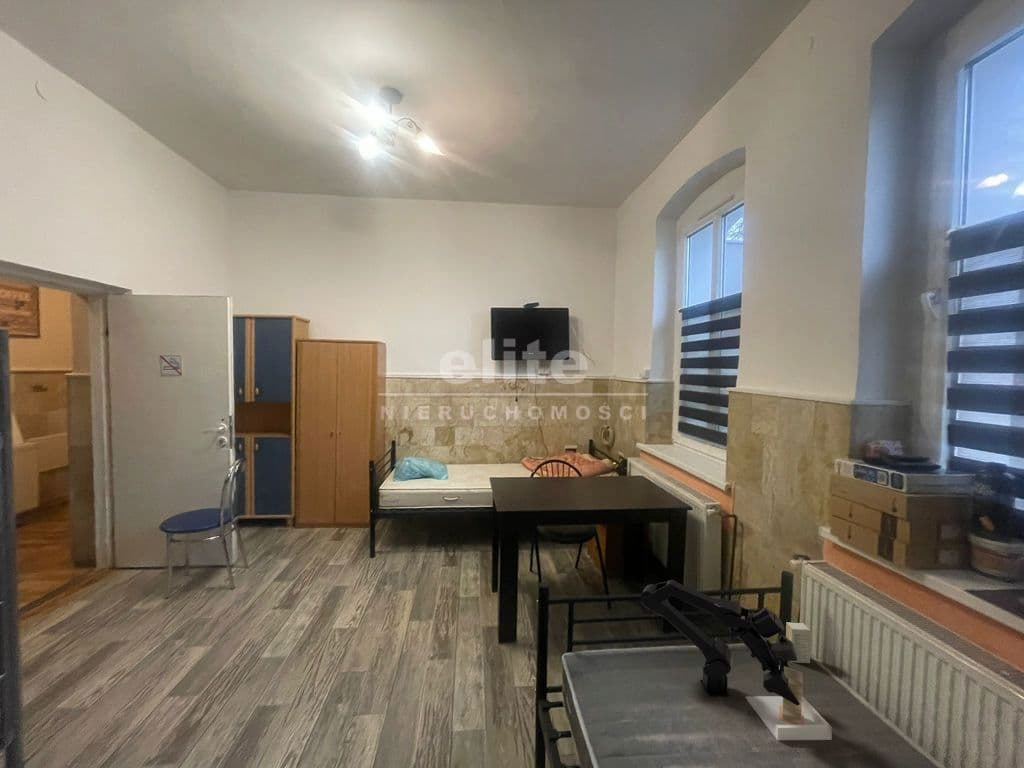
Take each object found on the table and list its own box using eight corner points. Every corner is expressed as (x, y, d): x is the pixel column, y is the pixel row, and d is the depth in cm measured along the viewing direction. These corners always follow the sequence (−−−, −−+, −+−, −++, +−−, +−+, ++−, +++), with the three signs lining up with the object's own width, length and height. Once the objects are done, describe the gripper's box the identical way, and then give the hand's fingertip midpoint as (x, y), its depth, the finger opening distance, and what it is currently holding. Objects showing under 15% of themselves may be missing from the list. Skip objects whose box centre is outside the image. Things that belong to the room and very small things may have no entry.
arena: (777, 740, 116) (778, 727, 116) (745, 698, 131) (745, 687, 131) (831, 739, 116) (832, 727, 116) (793, 698, 131) (793, 687, 131)
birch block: (782, 718, 123) (784, 675, 122) (782, 708, 126) (784, 666, 126) (800, 725, 120) (802, 681, 120) (800, 715, 124) (802, 672, 124)
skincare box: (803, 655, 152) (804, 622, 152) (810, 664, 147) (811, 630, 147) (784, 654, 152) (785, 621, 152) (791, 662, 148) (792, 628, 148)
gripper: (778, 648, 117) (825, 705, 111) (778, 617, 133) (820, 665, 127) (745, 665, 121) (789, 720, 116) (749, 632, 137) (788, 679, 131)
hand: (798, 694), depth 122 cm, fingers open, 9 cm apart
